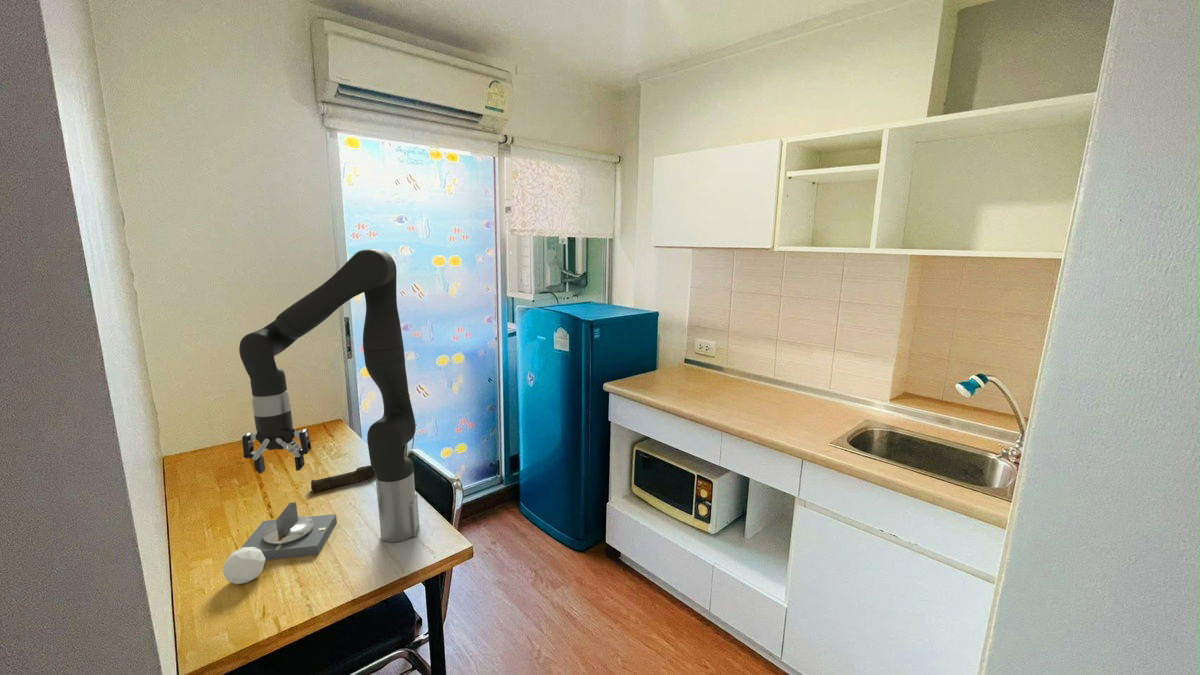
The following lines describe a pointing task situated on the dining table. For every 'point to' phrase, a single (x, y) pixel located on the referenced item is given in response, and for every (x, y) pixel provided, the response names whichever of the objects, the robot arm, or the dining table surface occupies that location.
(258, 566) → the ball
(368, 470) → the hand tool
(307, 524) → the dial knob
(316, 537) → the dial panel
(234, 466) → the dining table surface
